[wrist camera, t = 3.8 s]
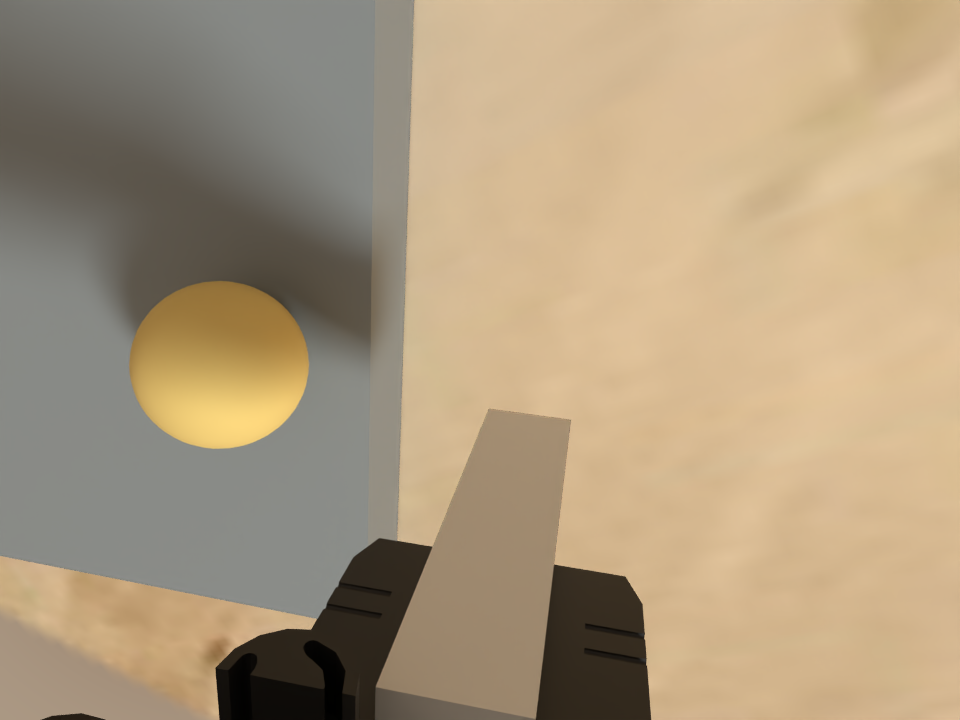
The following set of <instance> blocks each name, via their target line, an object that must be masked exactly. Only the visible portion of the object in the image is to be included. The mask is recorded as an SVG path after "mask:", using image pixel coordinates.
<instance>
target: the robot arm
mask: <svg viewBox="0 0 960 720" xmlns="http://www.w3.org/2000/svg"><path fill="white" fill-rule="evenodd" d="M570 424H571V420H568V419H561V418H553V417H546V416H539V415H532V414H524V413H517V412H510V411H502V410H495V409H489V410H488V412H487V414H486V417H485V419H484V422H483V424H482V427H481V429H480V432H479V434H478V437H477V439H476V442H475V444H474V446H473V449H472V451H471V454H470V456H469V459H468V461H467V464H466V466H465V469H464V471H463V473H462V476H461V478H460V481H459V483H458V486H457V488H456V491H455V493H454V496H453V498H452V501H451V503H450V505H449V508H448V510H447V513H446V515H445V518H444V520H443V523H442V525H441V528H440V530H439V532H438V535H437V537H436V540H435V542H434V545H433V547H430V546H424V545H418V544H412V543H406V542H400V541H395V540H389V539H383V538H379V539H377V540H376V541H375V542H373V543H372V544H370V545H369V546H368V547H366V548H365V549H364V550H362V551H361V552H359V553H358V554H357V555H355V556H354V557H353V558H352V560H351V562H350V564H349V565H348V567H347V569H346V571H345V572H344V574H343V576H342V577H341V579H340V581H339V585H338V587H336V588H335V590H334V591H333V593H332V595H331V596H330V598H329V600H328V602H327V604H326V608H325V609H323V610H322V612H321V614H320V615H319V617H318V619H317V621H316V622H315V624H314V626H313V628H312V629H311V630H302V629H285V630H281V631H276V632H272V633H268V634H263V635H260V636H258V637H256V638H254V639H252V640H250V641H248V642H246V643H245V644H243V645H241V646H239V647H237V648H235V649H234V650H233V651H232V652H231V653H230V654H229V655H228V656H227V657H226V658H225V659H224V660H223V661H222V662H221V663H220V664H219V665H218V666H217V667H216V680H217V693H218V705H219V718H220V720H651V712H650V699H649V685H648V672H647V666H646V646H645V640H644V635H645V632H644V619H643V606H642V603H641V601H640V599H639V598H638V596H637V595H636V593H635V591H634V590H633V588H632V587H631V585H630V583H629V582H628V580H627V579H626V577H625V576H619V575H613V574H607V573H601V572H595V571H589V570H583V569H577V568H571V567H565V566H559V565H554V560H555V551H556V543H557V534H558V526H559V517H560V509H561V500H562V492H563V483H564V475H565V466H566V458H567V449H568V441H569V432H570ZM42 720H105V719H101V718H97V717H94V716H89V715H85V714H82V713H80V714H70V715H57V716H51V717H48V718H45V719H42Z"/></svg>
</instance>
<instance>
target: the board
mask: <svg viewBox="0 0 960 720" xmlns="http://www.w3.org/2000/svg"><path fill="white" fill-rule="evenodd" d="M413 17H414V0H0V556H4V557H9V558H14V559H19V560H24V561H29V562H34V563H39V564H44V565H49V566H54V567H59V568H64V569H69V570H74V571H79V572H84V573H90V574H95V575H100V576H105V577H110V578H115V579H120V580H125V581H130V582H135V583H140V584H145V585H150V586H155V587H160V588H165V589H170V590H175V591H180V592H185V593H190V594H195V595H200V596H205V597H210V598H215V599H220V600H225V601H231V602H236V603H241V604H246V605H251V606H256V607H261V608H266V609H271V610H276V611H281V612H286V613H291V614H296V615H301V616H306V617H311V618H316V619H318V617H319V615H320V614H321V612H322V610H323V609H325V608H326V604H327V602H328V600H329V598H330V596H331V595H332V593H333V591H334V590H335V588H336V587H338V585H339V581H340V579H341V577H342V576H343V574H344V572H345V571H346V569H347V567H348V565H349V564H350V562H351V560H352V558H353V557H354V556H355V555H357V554H358V553H359V552H361V551H362V550H364V549H365V548H366V547H368V546H369V545H370V544H372V543H373V542H375V541H376V540H377V539H379V538H383V539H389V540H395V541H397V525H398V493H399V461H400V429H401V398H402V366H403V334H404V302H405V271H406V239H407V207H408V175H409V144H410V112H411V80H412V48H413ZM211 281H230V282H235V283H240V284H245V285H248V286H251V287H254V288H256V289H258V290H260V291H263V292H264V293H266V294H268V295H269V296H271V297H273V298H274V299H275V300H277V301H278V302H279V303H280V304H282V305H283V306H284V307H285V308H286V309H287V310H288V312H289V313H290V314H291V315H292V316H293V318H294V319H295V321H296V322H297V324H298V326H299V327H300V330H301V332H302V334H303V336H304V339H305V342H306V346H307V351H308V360H309V372H308V378H307V383H306V387H305V390H304V393H303V396H302V398H301V400H300V401H299V403H298V405H297V407H296V409H295V410H294V411H293V413H292V414H291V415H290V417H289V418H288V419H287V420H286V421H285V422H284V423H283V424H282V425H281V426H280V427H279V428H277V429H276V430H275V431H273V432H272V433H270V434H269V435H268V436H266V437H264V438H262V439H260V440H257V441H255V442H253V443H250V444H247V445H244V446H239V447H234V448H224V449H211V448H203V447H199V446H194V445H190V444H187V443H185V442H182V441H180V440H178V439H176V438H174V437H172V436H171V435H169V434H167V433H166V432H164V431H163V430H162V429H160V428H159V427H158V426H157V425H156V424H155V423H154V422H152V420H151V419H150V418H149V417H148V416H147V415H146V413H145V412H144V410H143V409H142V408H141V406H140V404H139V402H138V400H137V398H136V396H135V393H134V390H133V387H132V384H131V379H130V372H129V361H130V351H131V346H132V343H133V340H134V337H135V335H136V332H137V330H138V328H139V326H140V324H141V323H142V321H143V320H144V318H145V317H146V316H147V315H148V313H149V312H150V311H151V310H152V309H153V308H154V307H155V306H156V305H157V304H158V303H159V302H161V301H162V300H163V299H164V298H166V297H167V296H169V295H171V294H172V293H174V292H176V291H178V290H180V289H182V288H185V287H187V286H191V285H194V284H198V283H202V282H211Z"/></svg>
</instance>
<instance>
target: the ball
mask: <svg viewBox="0 0 960 720" xmlns="http://www.w3.org/2000/svg"><path fill="white" fill-rule="evenodd" d="M129 372H130V379H131V384H132V387H133V390H134V393H135V396H136V398H137V400H138V402H139V404H140V406H141V408H142V409H143V410H144V412H145V413H146V415H147V416H148V417H149V418H150V419H151V420H152V422H154V423H155V424H156V425H157V426H158V427H159V428H160V429H162V430H163V431H164V432H166V433H167V434H169V435H171V436H172V437H174V438H176V439H178V440H180V441H182V442H185V443H187V444H190V445H194V446H199V447H203V448H211V449H224V448H234V447H239V446H244V445H247V444H250V443H253V442H255V441H257V440H260V439H262V438H264V437H266V436H268V435H269V434H270V433H272V432H273V431H275V430H276V429H277V428H279V427H280V426H281V425H282V424H283V423H284V422H285V421H286V420H287V419H288V418H289V417H290V415H291V414H292V413H293V411H294V410H295V409H296V407H297V405H298V403H299V401H300V400H301V398H302V396H303V393H304V390H305V387H306V383H307V378H308V372H309V360H308V351H307V346H306V342H305V339H304V336H303V334H302V332H301V330H300V327H299V326H298V324H297V322H296V321H295V319H294V318H293V316H292V315H291V314H290V313H289V312H288V310H287V309H286V308H285V307H284V306H283V305H282V304H280V303H279V302H278V301H277V300H275V299H274V298H273V297H271V296H269V295H268V294H266V293H264V292H263V291H260V290H258V289H256V288H254V287H251V286H248V285H245V284H240V283H235V282H230V281H211V282H202V283H198V284H194V285H191V286H187V287H185V288H182V289H180V290H178V291H176V292H174V293H172V294H171V295H169V296H167V297H166V298H164V299H163V300H162V301H161V302H159V303H158V304H157V305H156V306H155V307H154V308H153V309H152V310H151V311H150V312H149V313H148V315H147V316H146V317H145V318H144V320H143V321H142V323H141V324H140V326H139V328H138V330H137V332H136V335H135V337H134V340H133V343H132V346H131V351H130V361H129Z"/></svg>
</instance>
